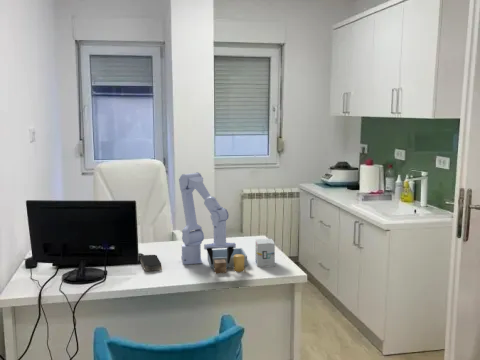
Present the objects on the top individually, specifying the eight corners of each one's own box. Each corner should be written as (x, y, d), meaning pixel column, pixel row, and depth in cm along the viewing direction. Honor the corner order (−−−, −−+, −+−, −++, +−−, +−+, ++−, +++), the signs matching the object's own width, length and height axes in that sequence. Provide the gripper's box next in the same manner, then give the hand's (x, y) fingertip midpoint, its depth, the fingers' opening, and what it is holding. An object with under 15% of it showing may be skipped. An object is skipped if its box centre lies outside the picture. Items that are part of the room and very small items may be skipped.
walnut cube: (215, 273, 225) (215, 263, 224) (214, 270, 230) (214, 259, 229) (226, 273, 226) (226, 262, 225) (224, 269, 231) (224, 259, 230)
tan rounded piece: (234, 272, 227) (234, 257, 226) (232, 268, 231) (232, 254, 230) (245, 271, 227) (245, 257, 226) (243, 268, 232) (243, 253, 231)
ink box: (255, 261, 242) (255, 238, 240) (272, 261, 243) (272, 238, 241) (257, 267, 234) (257, 243, 232) (274, 266, 234) (275, 243, 233)
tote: (210, 268, 232) (210, 258, 231) (207, 259, 245) (207, 249, 244) (247, 266, 235) (247, 256, 234) (242, 257, 248) (242, 248, 247)
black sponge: (139, 262, 242) (139, 255, 241) (157, 260, 244) (156, 253, 244) (144, 273, 226) (144, 265, 226) (162, 271, 229) (162, 263, 229)
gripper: (205, 238, 220) (205, 267, 222) (236, 236, 223) (236, 265, 225) (203, 234, 227) (203, 262, 229) (234, 232, 229) (234, 260, 231)
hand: (220, 263), depth 227 cm, fingers open, 7 cm apart
